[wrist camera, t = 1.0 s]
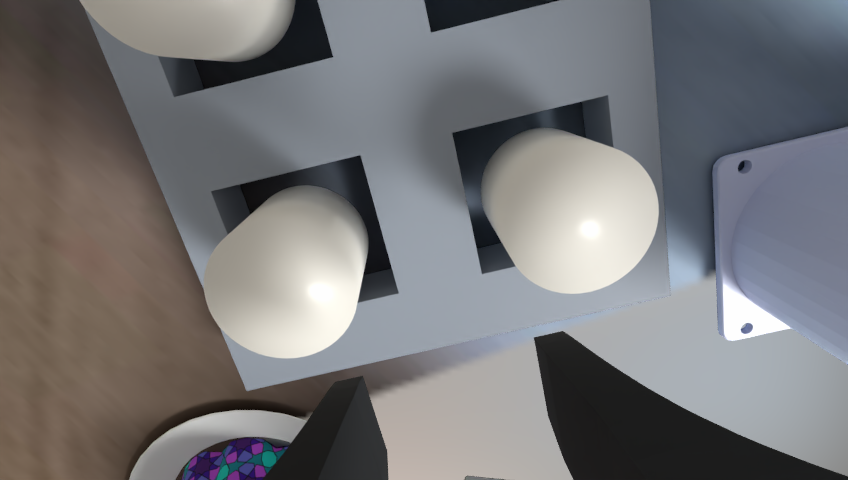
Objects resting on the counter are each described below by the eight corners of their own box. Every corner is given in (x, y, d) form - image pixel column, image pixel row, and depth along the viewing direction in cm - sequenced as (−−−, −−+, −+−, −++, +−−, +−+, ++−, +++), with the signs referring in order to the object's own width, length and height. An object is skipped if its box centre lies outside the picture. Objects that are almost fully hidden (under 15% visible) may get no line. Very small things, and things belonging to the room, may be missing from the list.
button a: (591, 114, 15) (652, 127, 12) (605, 230, 17) (663, 275, 13) (469, 143, 16) (491, 165, 12) (492, 256, 17) (517, 308, 13)
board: (587, -289, 14) (624, -364, 12) (638, 269, 20) (670, 295, 17) (66, -146, 15) (0, -189, 12) (265, 354, 20) (246, 390, 18)
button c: (350, 172, 16) (332, 203, 12) (381, 281, 17) (375, 340, 13) (233, 200, 16) (179, 240, 12) (272, 306, 17) (235, 372, 13)
